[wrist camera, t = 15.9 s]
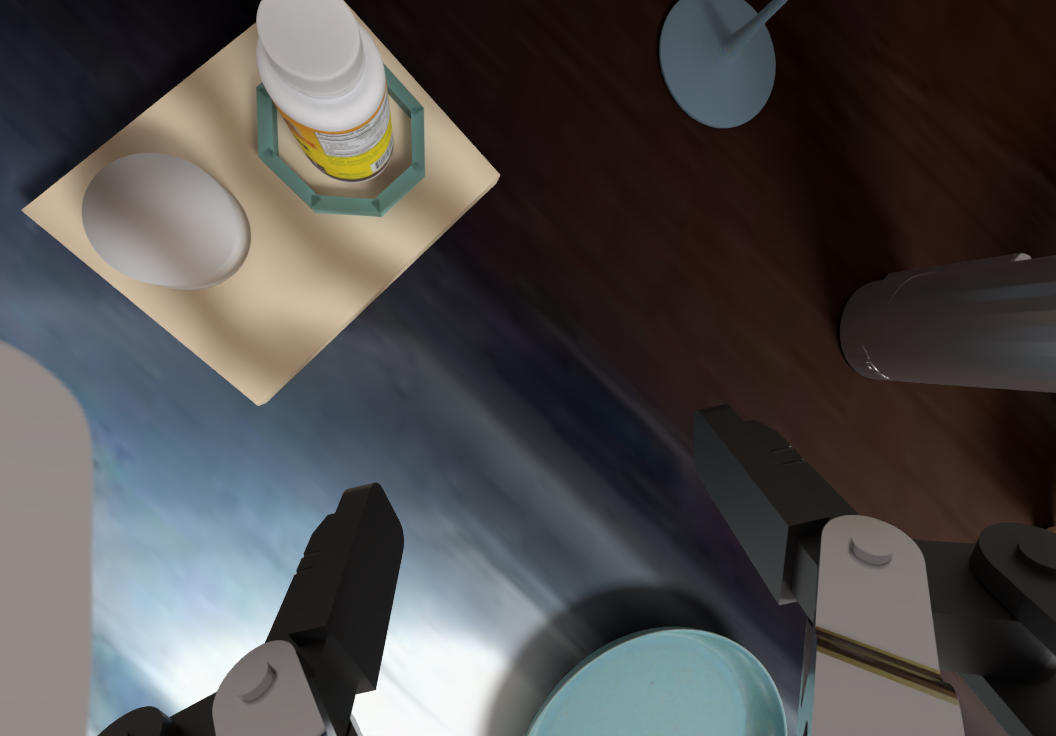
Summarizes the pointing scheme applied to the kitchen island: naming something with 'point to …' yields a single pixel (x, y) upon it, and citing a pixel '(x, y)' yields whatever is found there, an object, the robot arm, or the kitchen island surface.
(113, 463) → the kitchen island surface
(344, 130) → the supplement bottle
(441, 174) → the carrier board
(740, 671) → the saucer
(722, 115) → the cocktail glass
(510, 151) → the kitchen island surface
